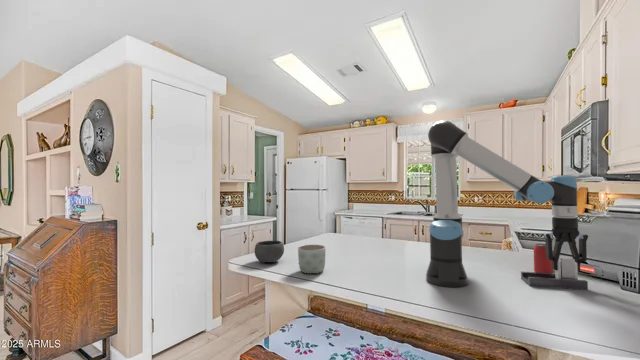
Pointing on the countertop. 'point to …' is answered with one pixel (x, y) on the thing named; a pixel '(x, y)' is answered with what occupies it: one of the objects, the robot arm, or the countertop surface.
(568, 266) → the grey rectangular block
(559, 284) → the dark grey tray
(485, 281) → the countertop surface
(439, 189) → the robot arm
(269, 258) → the bowl
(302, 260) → the planter
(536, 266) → the beer can
